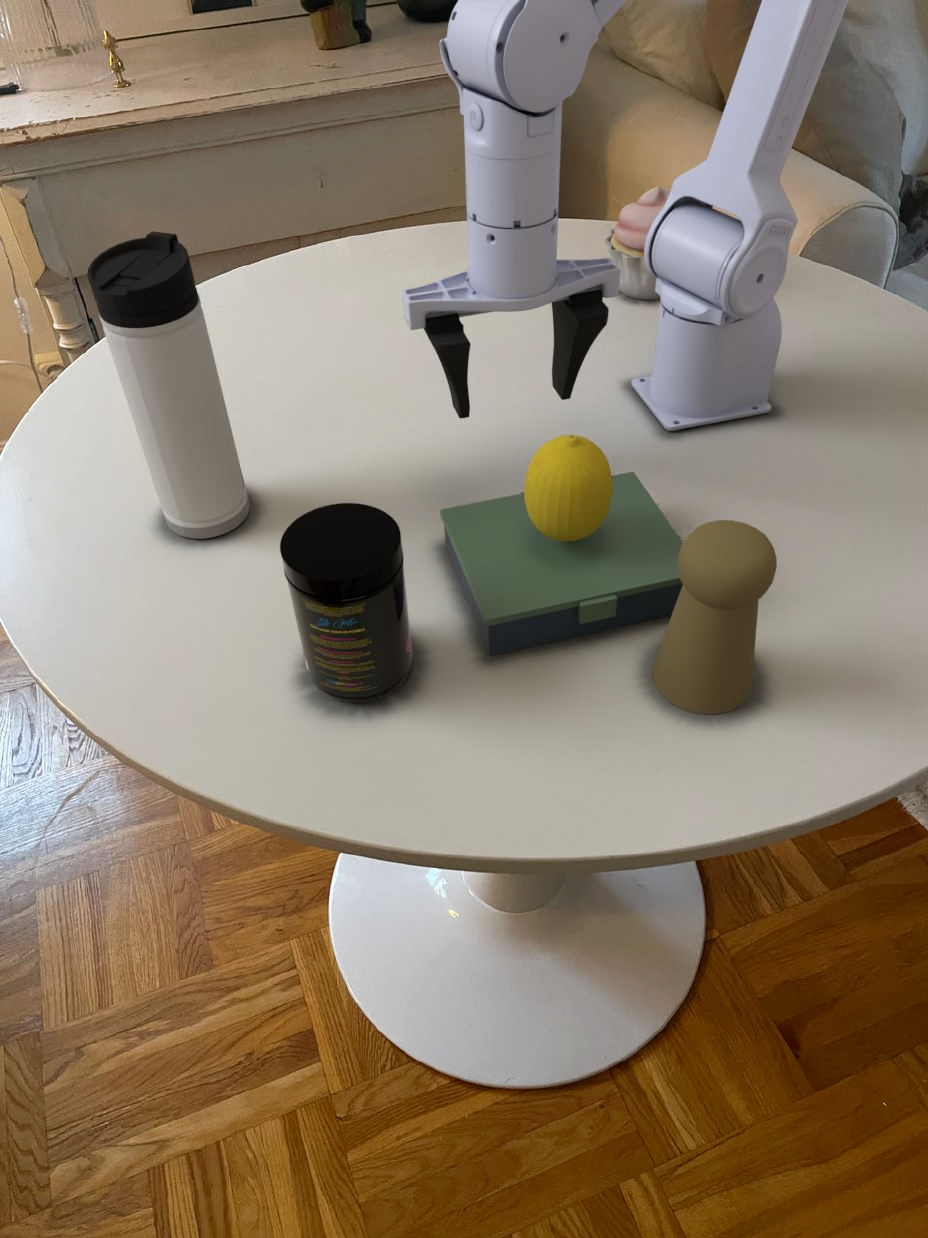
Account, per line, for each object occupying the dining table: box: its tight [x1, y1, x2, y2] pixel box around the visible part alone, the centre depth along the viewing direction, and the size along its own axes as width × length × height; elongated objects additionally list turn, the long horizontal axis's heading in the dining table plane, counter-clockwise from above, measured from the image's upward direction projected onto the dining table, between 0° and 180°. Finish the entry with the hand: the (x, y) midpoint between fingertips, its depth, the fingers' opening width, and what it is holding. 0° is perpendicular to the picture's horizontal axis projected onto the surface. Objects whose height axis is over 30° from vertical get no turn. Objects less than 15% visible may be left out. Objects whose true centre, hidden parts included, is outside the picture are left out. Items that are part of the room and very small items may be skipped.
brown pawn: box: [651, 519, 778, 715], centre depth 53 cm, size 6×6×11 cm
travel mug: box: [86, 230, 251, 540], centre depth 63 cm, size 6×7×20 cm
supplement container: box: [279, 502, 413, 703], centre depth 55 cm, size 7×7×10 cm
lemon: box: [523, 434, 613, 542], centre depth 59 cm, size 6×6×8 cm
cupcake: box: [603, 186, 671, 300], centre depth 91 cm, size 9×9×10 cm
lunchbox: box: [439, 471, 684, 656], centre depth 63 cm, size 14×12×4 cm
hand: (511, 401), depth 67 cm, fingers open, 7 cm apart
